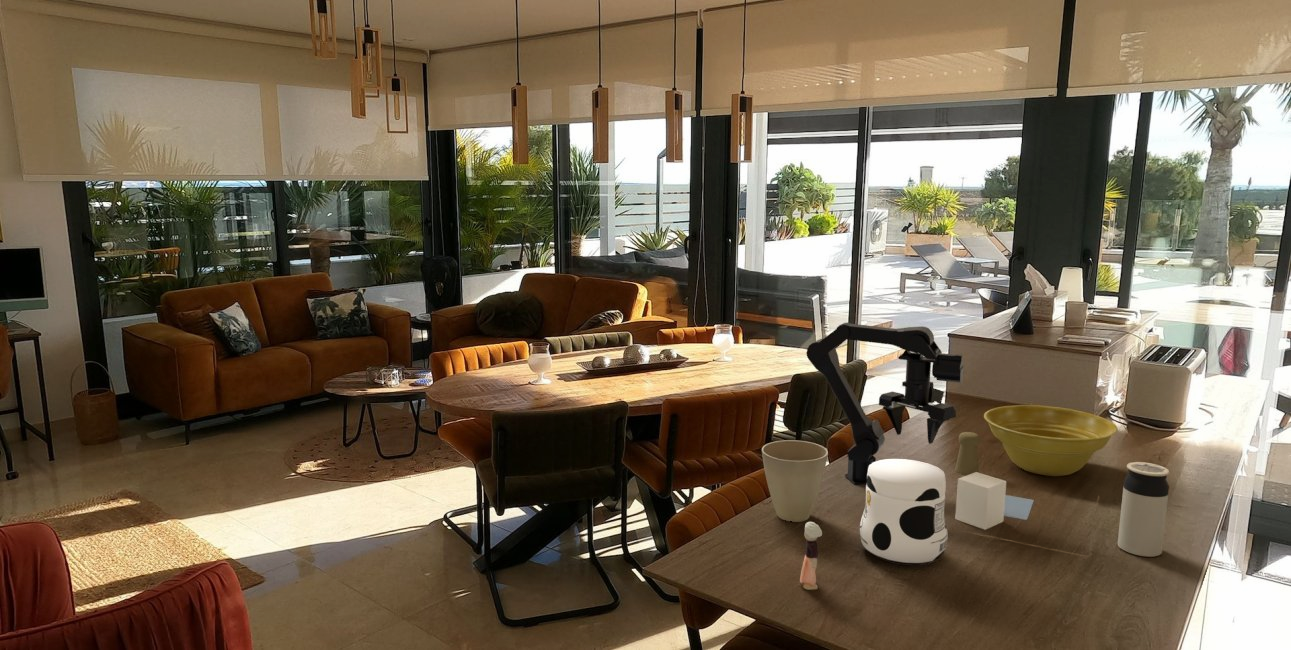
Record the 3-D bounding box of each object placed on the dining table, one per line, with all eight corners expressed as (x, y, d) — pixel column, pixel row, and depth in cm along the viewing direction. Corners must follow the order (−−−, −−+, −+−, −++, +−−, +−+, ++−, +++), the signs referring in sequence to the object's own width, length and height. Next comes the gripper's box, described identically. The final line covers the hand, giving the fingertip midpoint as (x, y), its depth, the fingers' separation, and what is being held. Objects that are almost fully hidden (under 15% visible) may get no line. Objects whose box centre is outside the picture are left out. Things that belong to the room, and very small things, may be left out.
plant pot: (785, 498, 200) (787, 436, 197) (837, 515, 189) (840, 450, 187) (747, 515, 189) (748, 449, 187) (800, 535, 179) (802, 465, 176)
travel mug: (1161, 561, 166) (1170, 477, 163) (1116, 552, 170) (1124, 469, 167) (1161, 546, 173) (1170, 465, 170) (1118, 538, 177) (1126, 459, 174)
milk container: (850, 535, 179) (854, 456, 176) (930, 536, 178) (935, 457, 175) (869, 572, 162) (874, 485, 159) (958, 573, 161) (964, 486, 158)
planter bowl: (980, 479, 213) (984, 429, 210) (980, 443, 242) (983, 399, 240) (1121, 496, 201) (1127, 444, 199) (1103, 457, 230) (1108, 410, 228)
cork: (981, 477, 214) (983, 437, 212) (956, 475, 215) (959, 435, 213) (976, 469, 220) (979, 430, 218) (953, 468, 221) (955, 429, 219)
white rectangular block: (955, 520, 187) (957, 478, 185) (973, 512, 191) (976, 472, 189) (985, 531, 181) (988, 488, 179) (1003, 523, 185) (1006, 481, 183)
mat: (962, 509, 193) (962, 507, 193) (972, 490, 205) (972, 489, 205) (1026, 521, 186) (1026, 520, 186) (1033, 501, 198) (1034, 500, 198)
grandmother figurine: (794, 576, 160) (796, 515, 158) (813, 575, 160) (816, 514, 158) (805, 595, 152) (807, 531, 150) (825, 595, 153) (828, 531, 151)
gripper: (970, 380, 199) (966, 442, 202) (905, 367, 214) (902, 424, 216) (944, 387, 192) (940, 450, 195) (878, 373, 207) (876, 432, 210)
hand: (914, 438), depth 204 cm, fingers open, 9 cm apart
